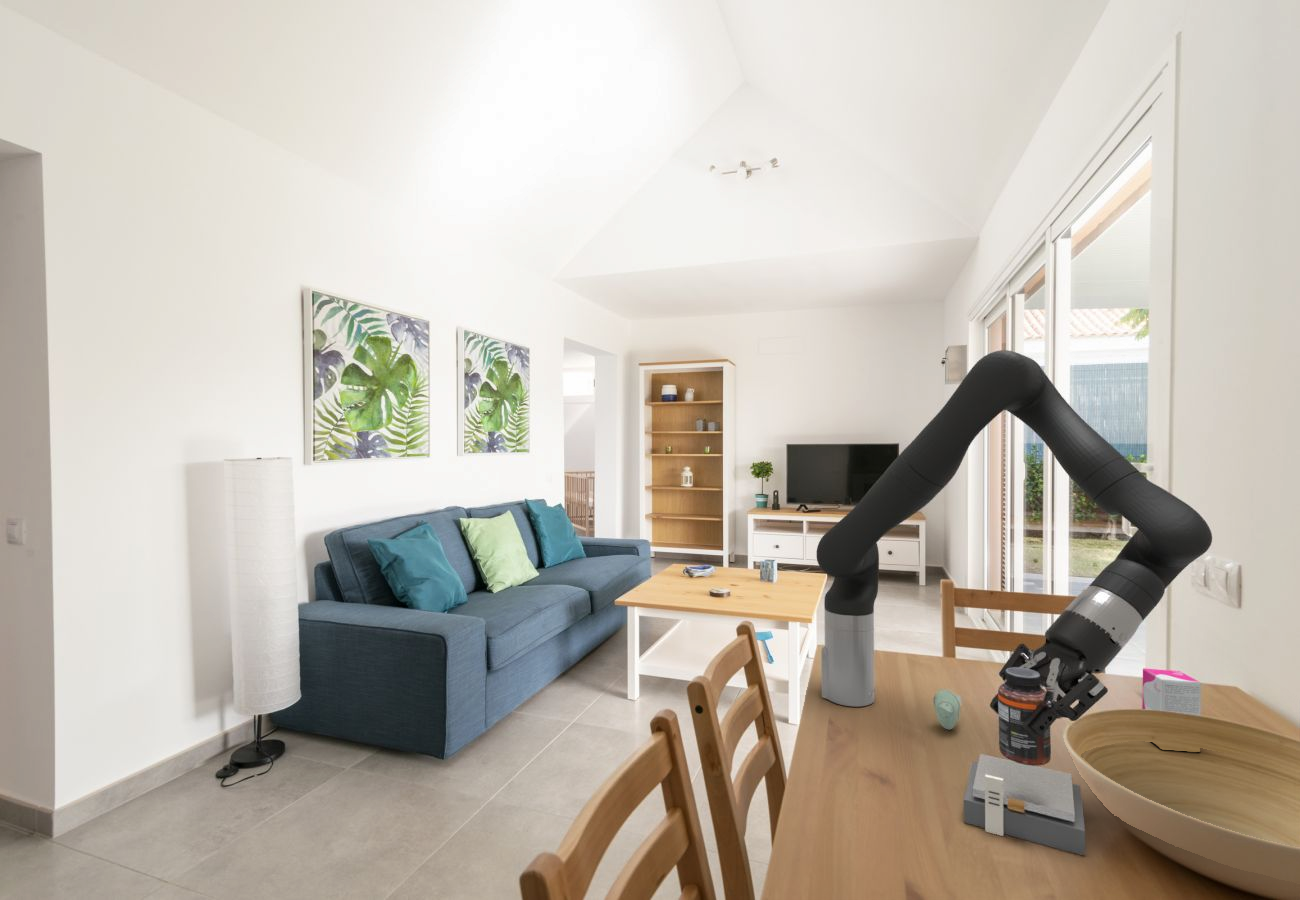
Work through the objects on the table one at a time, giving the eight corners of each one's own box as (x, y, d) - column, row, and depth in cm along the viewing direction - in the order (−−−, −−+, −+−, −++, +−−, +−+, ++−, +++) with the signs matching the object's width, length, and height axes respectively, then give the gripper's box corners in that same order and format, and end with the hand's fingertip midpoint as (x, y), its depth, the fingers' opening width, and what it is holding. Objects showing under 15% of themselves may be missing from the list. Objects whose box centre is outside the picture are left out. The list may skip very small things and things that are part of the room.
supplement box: (1202, 754, 100) (1202, 682, 100) (1160, 750, 102) (1160, 679, 102) (1180, 737, 106) (1179, 669, 106) (1140, 734, 107) (1139, 667, 107)
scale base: (963, 825, 82) (963, 771, 82) (972, 781, 92) (972, 733, 92) (1085, 859, 75) (1085, 800, 75) (1080, 807, 86) (1079, 755, 86)
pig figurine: (952, 740, 105) (952, 700, 105) (927, 733, 108) (926, 693, 108) (965, 724, 111) (965, 686, 111) (941, 718, 114) (941, 680, 114)
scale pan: (971, 801, 81) (971, 794, 81) (980, 760, 91) (980, 753, 91) (1075, 828, 75) (1075, 820, 75) (1071, 781, 86) (1071, 774, 86)
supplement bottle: (1044, 749, 86) (1043, 666, 86) (1056, 771, 80) (1055, 682, 80) (994, 743, 88) (994, 662, 88) (1003, 764, 82) (1002, 677, 82)
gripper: (1036, 597, 92) (960, 683, 91) (1119, 624, 78) (1030, 726, 76) (1070, 632, 92) (995, 718, 91) (1159, 665, 78) (1071, 767, 77)
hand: (1011, 721), depth 84 cm, fingers closed on supplement bottle, 6 cm apart
